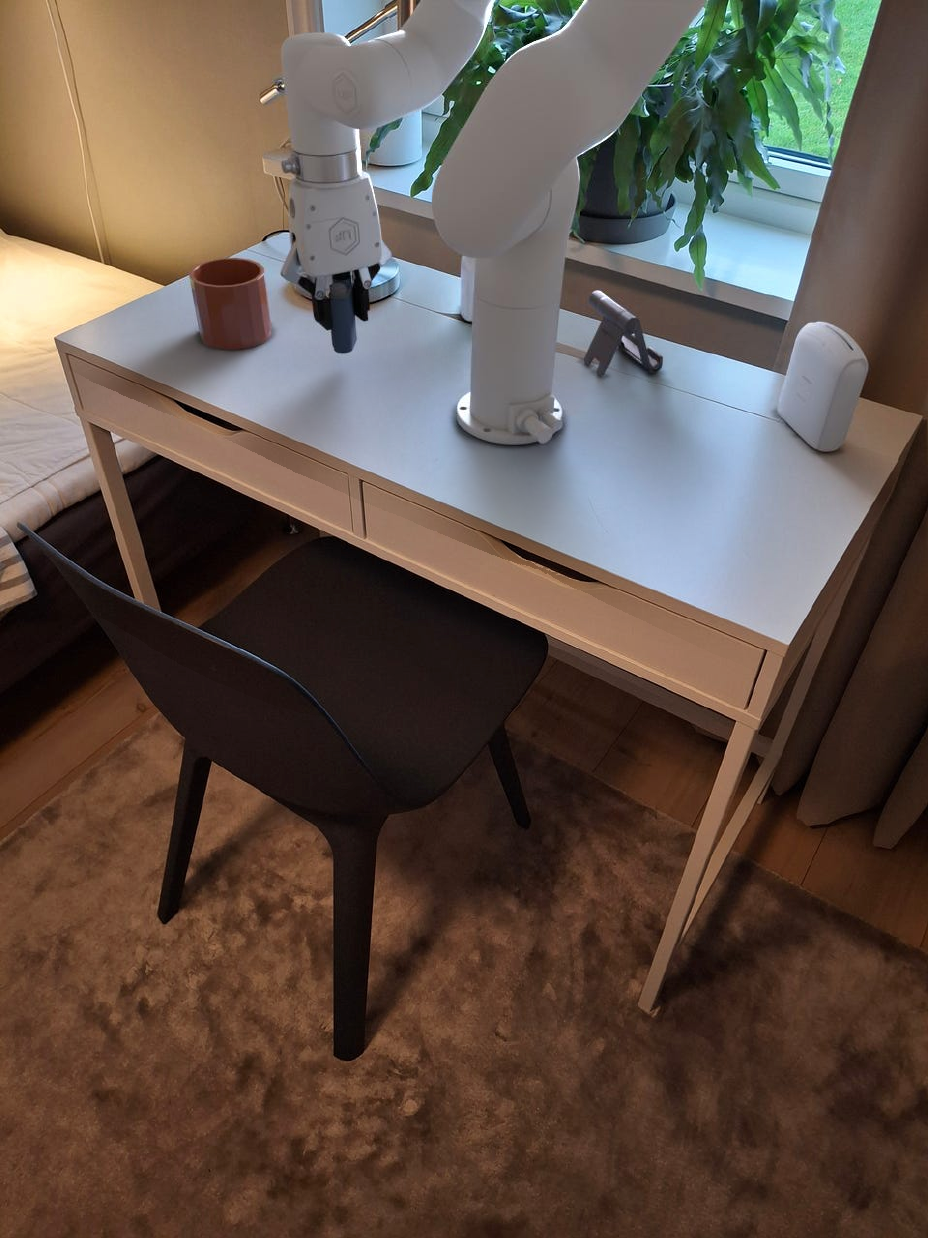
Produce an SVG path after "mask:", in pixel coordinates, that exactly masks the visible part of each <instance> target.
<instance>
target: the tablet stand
mask: <svg viewBox="0 0 928 1238" xmlns="http://www.w3.org/2000/svg"><path fill="white" fill-rule="evenodd" d="M588 305H589V306H590V307H591V308H592V309H594V310H595V311H596V312H598V314H600V315H602V319H601V321H600V323H599V325H598V327H597V330H596V332H595V334H594V336H593V338H592V340H591V342H590V345H589V347H588V348H587V351H586V353H585V355H584V357H583V362H584V363H585V364H586V365H587V366H590V365H591V364H592V362H593V360H594V359H595V360H597V361H598V363H599V364H598V366H597V369H596V371H595V372H596V374H597V375H599V376H601V377H604V375H605V373H606V372H607V370H608V368H609V366H610V364H611V361H612V359H613V357H614V356H615V354H616V351H617V349H618V348H619V349H620V350H622V351H623V352H625V353H626V354H628V355H629V357H631V358H633V360H635V361H636V362H637V363H639V364H640V365H641V366H642V367H643V368H644V369H645V370H647V371H648V372H650V373H652V374H657V373H658V372H660V371H661V370H662V369H663V365H664V356H663V355H662V354H661V353H659V352H658V351H656V350H655V349H653V348H652V347H651V346H647V344H646V340H645V337H644V332H643V329H642V325H641V322H640V319H639V318H637V316H635V315H634V314H632V313H631V312H630V311H628V310H627V309H626V308H624V307H622V306H621V305H620V304H619V303H617V302H616V301H615V300H613V299H612V298H610V297H609V296H608V295H606V294H605V293H603V292H602V291H601V290H595V291H593V292H591V294H590V295H589V297H588Z"/></svg>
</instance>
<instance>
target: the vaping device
mask: <svg viewBox="0 0 928 1238" xmlns="http://www.w3.org/2000/svg"><path fill="white" fill-rule="evenodd" d="M331 281H332V283H331V284H329V286H328V288H329V292H328V294H327V296H328V298H329V300H330V308H331V317H332V328H331V330H330V334H331V335H330V336H331V345H332V348H333V351H334V352H335V353H337V354H342V355H344V354H345V355H346V354H350V353H351V352H352V351H354V347H355V346H356V343H357V339H358V336H357V325H356V315H355V312H354V300H353V288H352V282H353V281H352V271H347V272H343V273H338V274H333V275H331Z"/></svg>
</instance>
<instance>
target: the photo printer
mask: <svg viewBox="0 0 928 1238" xmlns="http://www.w3.org/2000/svg"><path fill="white" fill-rule="evenodd" d="M794 340H795V341H794V345H793V349H792V351H791V355H790V359H789V361H788V362H789V363H788V366H787V370H786V373H785V377H784V381H783V385H782V388H781V392H780V396H779V400H778V404H777V413H778V415H779V416H780V417H781V418H782V419H783V420H784V422H785V423H787V425H788V426H789V427H790V428H791V429H792V430H793V431H795V433H796V434H797V435H798V436H799V437H800V438H801V439H802V440H804V441H805V442H806V443H807V444H808V445H809V446H810V447H811V448H813V449H814V450H817V451H819V452H835V451H837V450H838V449H839V448H840V447H841V446H843V445H844V443H845V441H846V438H847V436H848V432H849V430H850V427H851V424H852V420H853V417H854V414H855V412H856V407H857V405H858V402H859V399H860V396H861V393H862V390H863V387H864V384H865V381H866V379H867V375H868V372H869V362H868V359H867V357H866V355H865V353H864V351H863V349H862V348H861V347H860V346H859V344H858V343H857V341H855V340H854V339H853V337H852V336H850V335H849V334H848V333H847V332H845V330H843V329H841V328H840V327H838V326H836V325H834V324H832V323H829V322H825V321H815V322H808V323H807V324H805V325H804V326H803V327H802V328H801V329H800V330H799V332H798V334H797V336H796V338H795V339H794Z"/></svg>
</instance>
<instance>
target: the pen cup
mask: <svg viewBox="0 0 928 1238" xmlns="http://www.w3.org/2000/svg"><path fill="white" fill-rule="evenodd" d="M189 271H190V272H189V283H190V289H191V292H192V293H191V294H192V299H193V305H194V310H195V315H196V321H197V326H198V327H197V328H198V333H199V335H200V338H201V339H200V340H201V341H202V342H203V344H205V345H206V346H208V347H210V348H214V349H218V350H223V351H239V350H246V349H251V348H255V347H258V346H260V345H262V344H264V343H265V342H267V341H269V339H270V338H271V336H272V333H273V330H272V320H271V312H270V304H269V303H270V302H269V296H268V289H267V280H266V271H265V267H264V266H263V265H261V263H259V262H257V261H254V260H252V259H249V258H243V257H220V258H216V259H215V258H214V259H210V260H206V261H204V262H200V263H198V264H196V265H195V266H193V268H191V269H190V270H189Z"/></svg>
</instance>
